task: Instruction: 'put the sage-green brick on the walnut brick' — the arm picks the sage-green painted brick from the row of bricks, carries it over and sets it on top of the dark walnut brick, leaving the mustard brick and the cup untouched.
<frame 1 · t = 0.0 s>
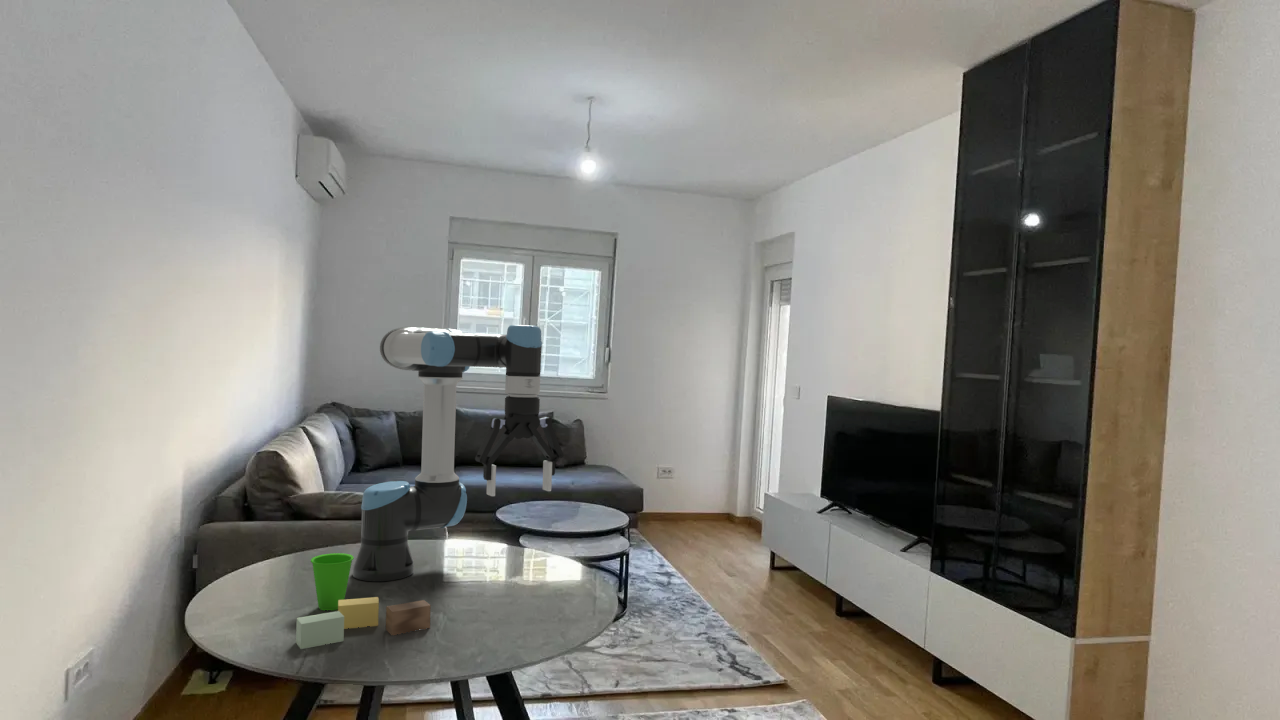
hand: (519, 492, 165), 28 cm above the table, fingers open, 13 cm apart
sage brick: (319, 642, 149), on the table
cup: (330, 607, 170), on the table
walnut brick: (407, 629, 158), on the table
mustard brick: (357, 624, 160), on the table
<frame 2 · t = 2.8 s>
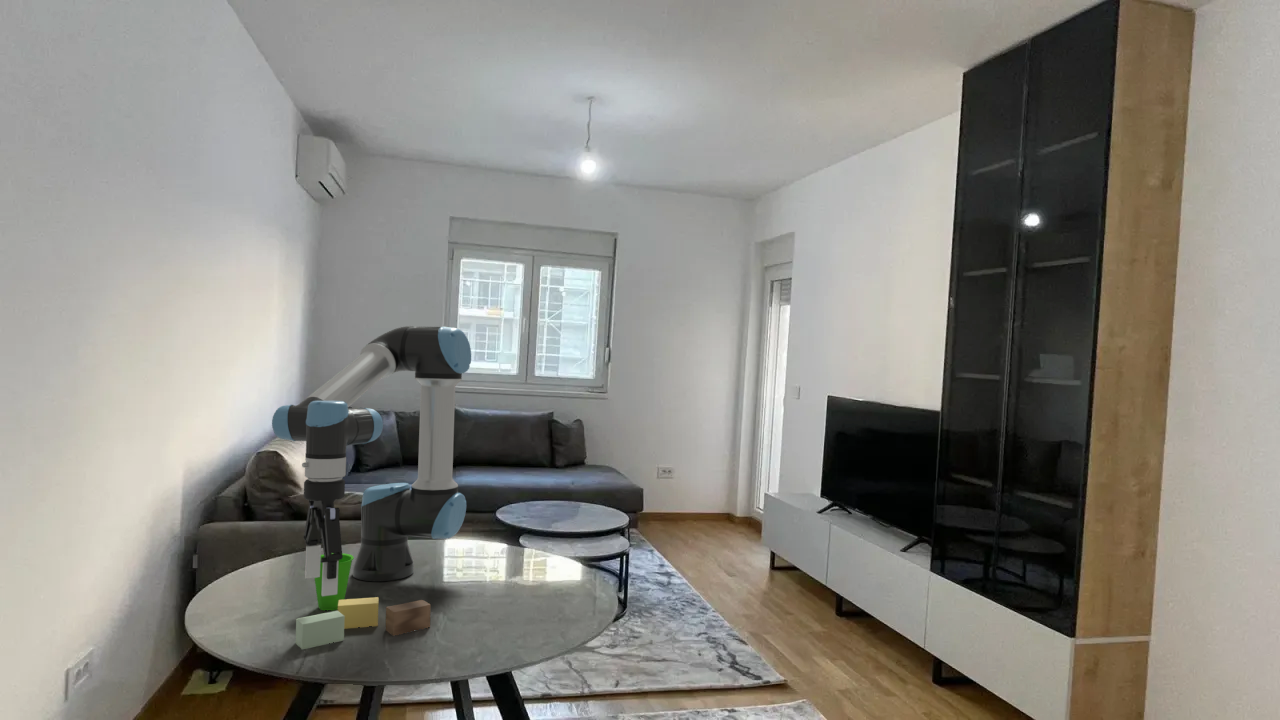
hand: (320, 586, 149), 11 cm above the table, fingers open, 13 cm apart
nothing on the table moved.
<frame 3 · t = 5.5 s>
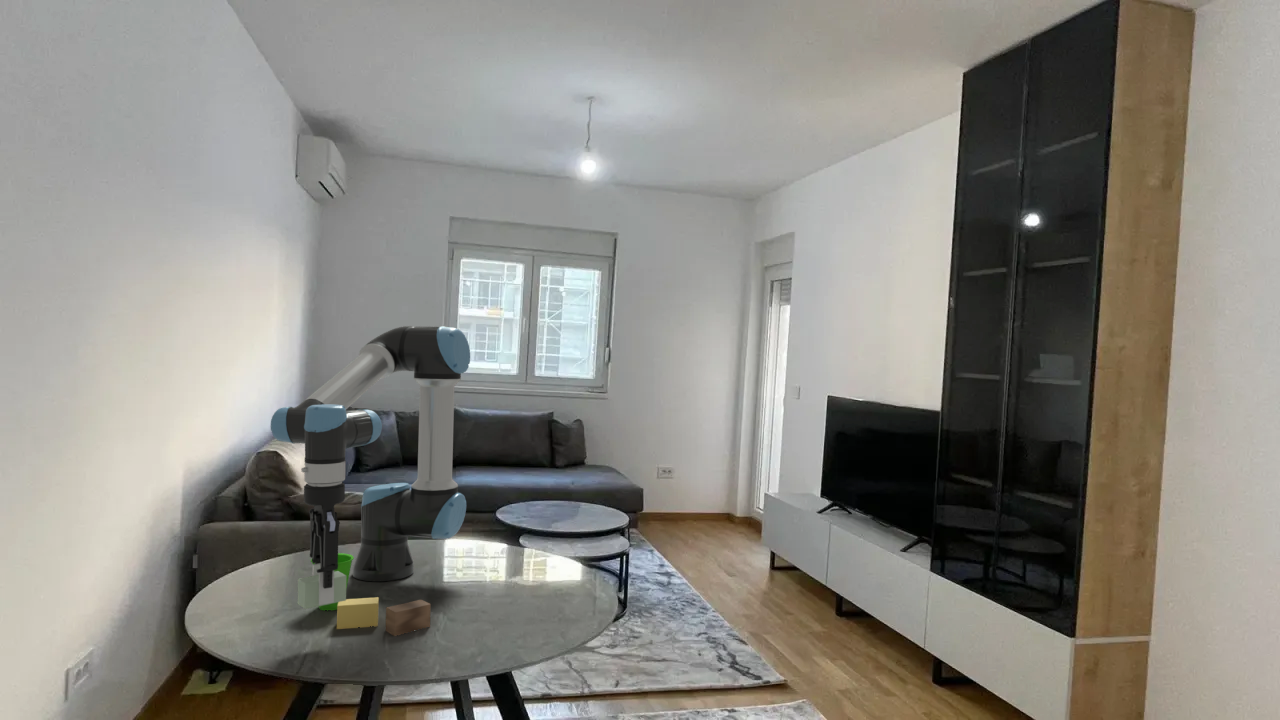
hand: (322, 599, 150), 8 cm above the table, fingers closed on sage brick, 4 cm apart
sage brick: (321, 602, 150), point 8 cm above the table, touching gripper
everything else where it was.
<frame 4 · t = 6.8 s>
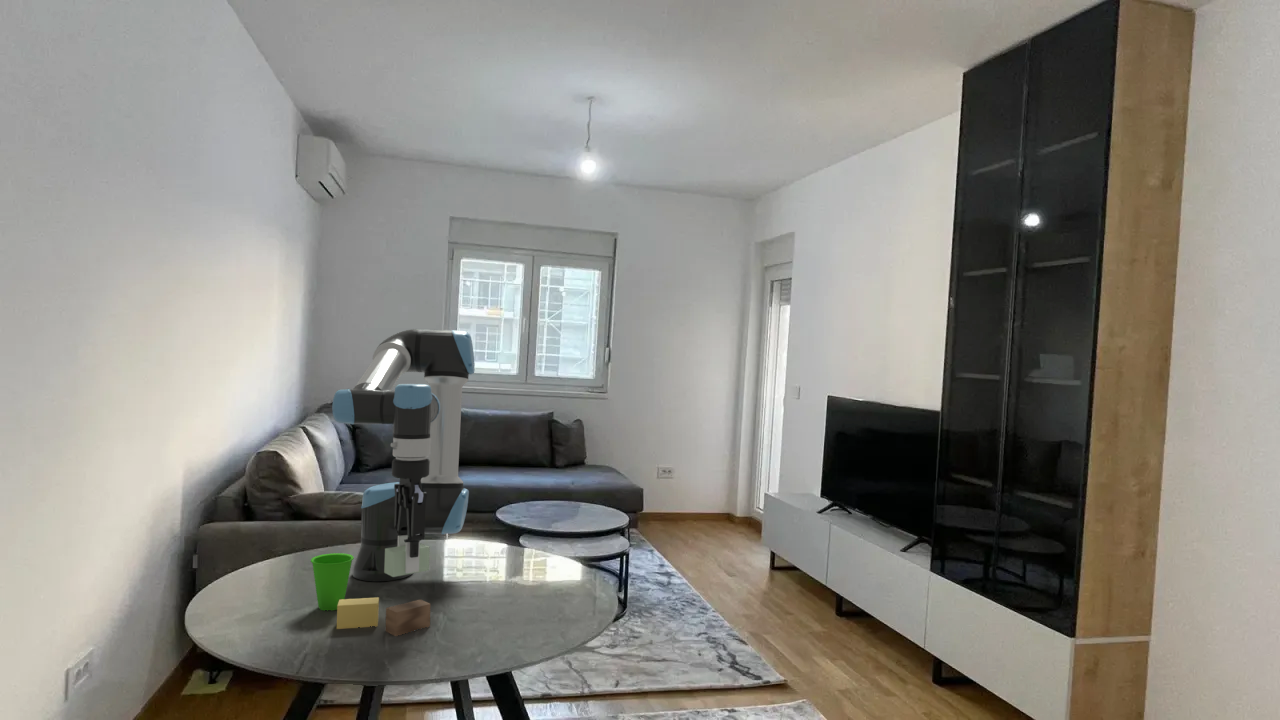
hand: (407, 568, 158), 13 cm above the table, fingers closed on sage brick, 4 cm apart
sage brick: (406, 571, 158), point 12 cm above the table, touching gripper
everything else where it was.
when the fingers open (6 cm above the table, at t = 8.3 s): sage brick stays where it is, resting on walnut brick.
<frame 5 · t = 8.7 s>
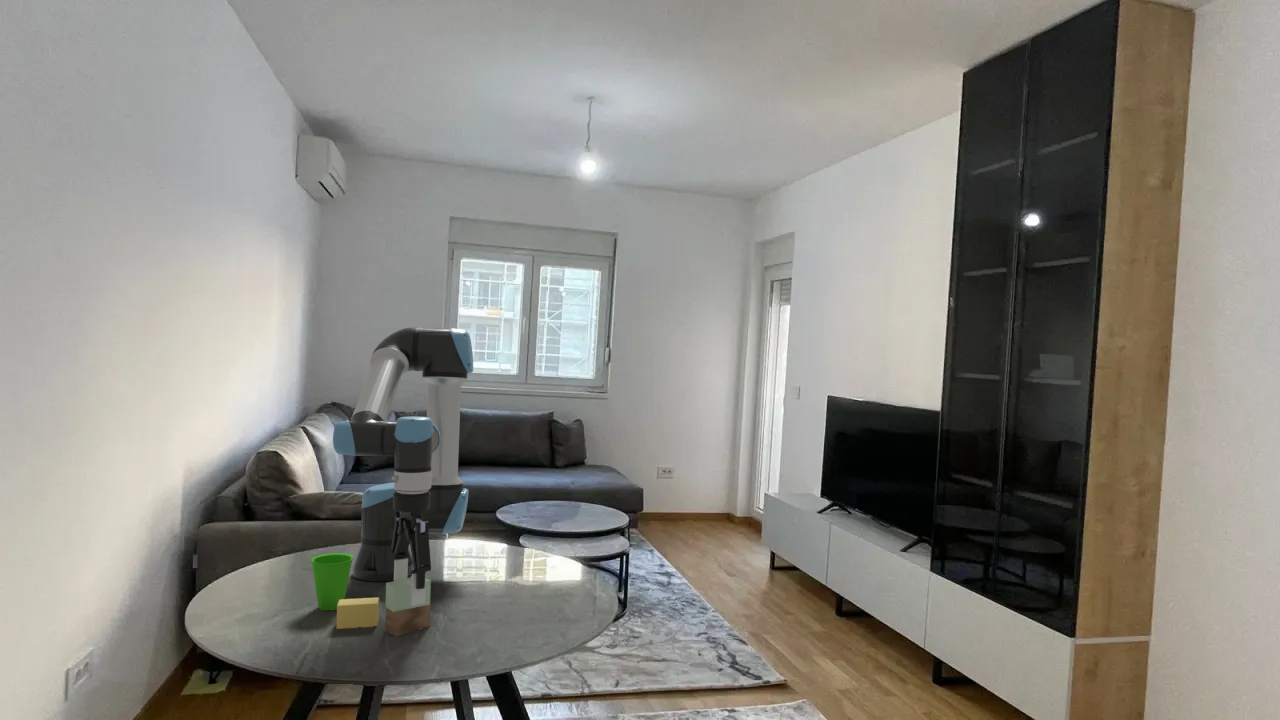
hand: (408, 596, 158), 7 cm above the table, fingers open, 10 cm apart
sage brick: (407, 605, 158), point 5 cm above the table, touching walnut brick
walnut brick: (407, 629, 158), on the table, touching sage brick
everything else where it was.
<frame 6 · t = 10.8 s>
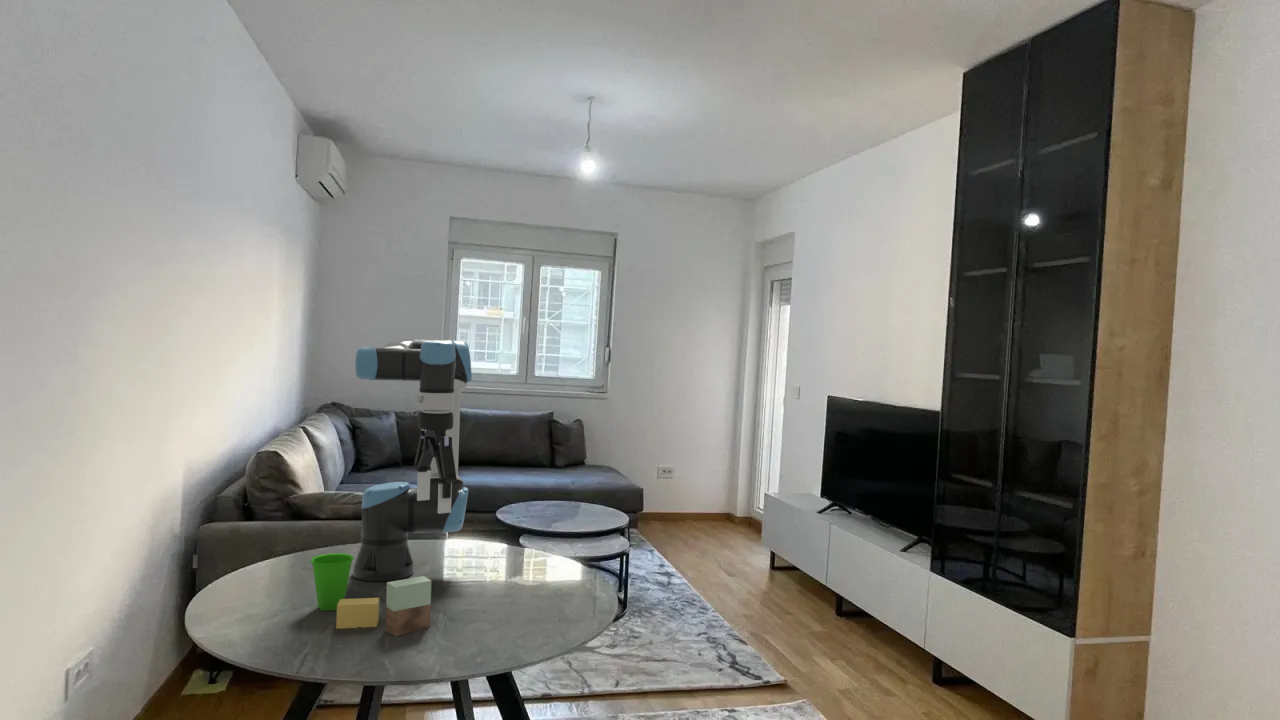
hand: (433, 506, 168), 24 cm above the table, fingers open, 13 cm apart
nothing on the table moved.
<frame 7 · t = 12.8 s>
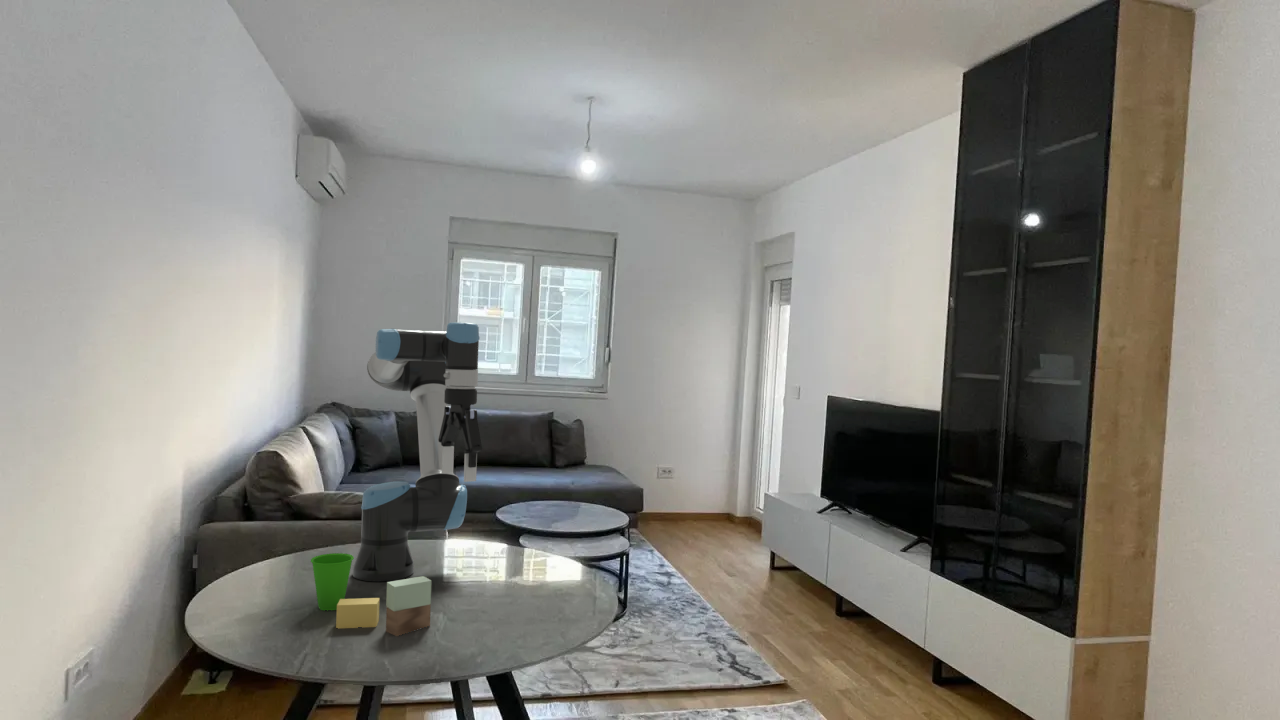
hand: (458, 477, 179), 29 cm above the table, fingers open, 13 cm apart
nothing on the table moved.
at the end: sage brick 0.1 cm off-centre on the walnut brick, point 5.0 cm above the walnut brick's base; walnut brick moved 0.1 cm from its start; mustard brick moved 0.2 cm from its start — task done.
